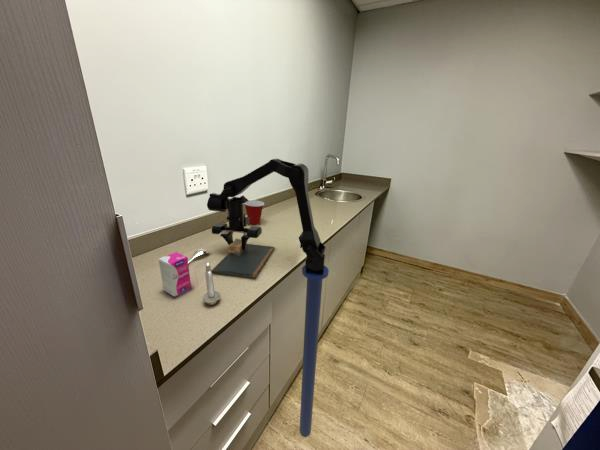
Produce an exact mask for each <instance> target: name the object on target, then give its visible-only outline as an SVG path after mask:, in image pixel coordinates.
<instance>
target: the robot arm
mask: <svg viewBox="0 0 600 450" xmlns="http://www.w3.org/2000/svg"><path fill="white" fill-rule="evenodd" d="M272 173H276V174H278V175H280V176H282V177H284V178H287V179H288V180H289V184H290V186H291V188H292V189H293V191H294V193H295V197H296V203H297V208H298V212H299V218H300V223H301V227H302V232H301V233H300V235H299V236H298V241H299V243H300V245H299V248H300V249H301V250H302V252H303V253H305V255H306V258H305V265H304V266H305V269H306V273H310V274H318V275H323V272H324V266H325V258H326V254H325V251H326V248H327V247H326V245H324V243H323V242H322V241H321V237H320V235H319V232H318V231H317V228H316V227H315V223H314V218H313V213H312V206H311V201H310V195H309V190H308V189H309V181H310V180H309V178H310V177H309V176H310V175H309V167H308V166H307V165H305V164H304V163H293V162H289V161H285V160H282V159H279V158H272V159H270V160H269V161H268V162H266V163H265V164H262V165H261V166H259V167H257V168H256V169H254V170H252V171H250V172H249V173H246V174H245V175H244V176H241V177H238V178H234V179H232V180H228V181H226V182H225V183H223V189H222V191H221V193H216V192H211V193H209V197H208V199H207V203H206V207H207V209H208V211H211V212H218V213H219V212H220V213H225V212H226V211H227V216H226V220H227V221H228V224H227V223H225V222H218V223H215V224H214V225H212V227H211V234H213V235H219V236H220V237H221V238H223V240H225V242H226V243H227V245H228V246H229V245H230V244H231V243H232V242H233V241H234V233H240V234H242V236H241V237H240V239H241V242H242V250H243V251H244V250H245V247H246V244H248V240H249V239H258V238H259V236H260V235H262V233H263V231H262V230H263V229H262V227H261V226H258V225H251V226H250V224H249V220H250V217H247V216H246V214H245V213H244V203H246V202H247V201H248V200H249V199H248V198H247V197H245V195H241V194H242V193H244V192H245V191H247V189H248V188H249V187H251V186H252V185H253V184H254V183H255V184H256V183H257V182H259V181H260V180H262V179H264V178H266V177H267V176H269V175H271V174H272ZM239 195H241V196H239ZM247 225H248V226H250V227H248V226H247Z"/></svg>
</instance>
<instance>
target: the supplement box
mask: <svg viewBox="0 0 600 450" xmlns="http://www.w3.org/2000/svg"><path fill="white" fill-rule="evenodd" d="M188 260H189V257H188V256H186V255H185V254H184V255H183V254H182V253H180V252H177V251H175V252H173V253H169V254H167V255H165V256H162V257H160V258H158V266H159V271H160V277H161V283H162V288H163V292H164V293H166V294H167V295H169V296H171V297H172V298H174V299H175V298H177V297H179V296H180V295H182V294H184V293H186V292H187V291H190V290H191V289H192V283H191V274H190V266H189V263H188Z"/></svg>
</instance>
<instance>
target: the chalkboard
mask: <svg viewBox="0 0 600 450" xmlns="http://www.w3.org/2000/svg"><path fill="white" fill-rule="evenodd" d="M246 245H247V249H246V250H245V251H244V252H243V253H242V254H241V256H234V255H229V253H227V255H226V256H224V257H223V258H222V260H221V261H220V262H219V263H217V265H216V266H215V267H214V268H213V269H211V270H212V275H220V276H227V277H233V278H234V277H235V278H240V279H241V278H243V279H249V280H250V279H251V280H256V279H257V277H258V275H259V274H260V273H261V271H262V269H263V268H264V266H265V265H266V263H267V262H268V260H269V258H270V257H271V255H272V253H273V252H274V251H275V246H272V245H271V246H270V245H261V244H251V243H247V244H246Z"/></svg>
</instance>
